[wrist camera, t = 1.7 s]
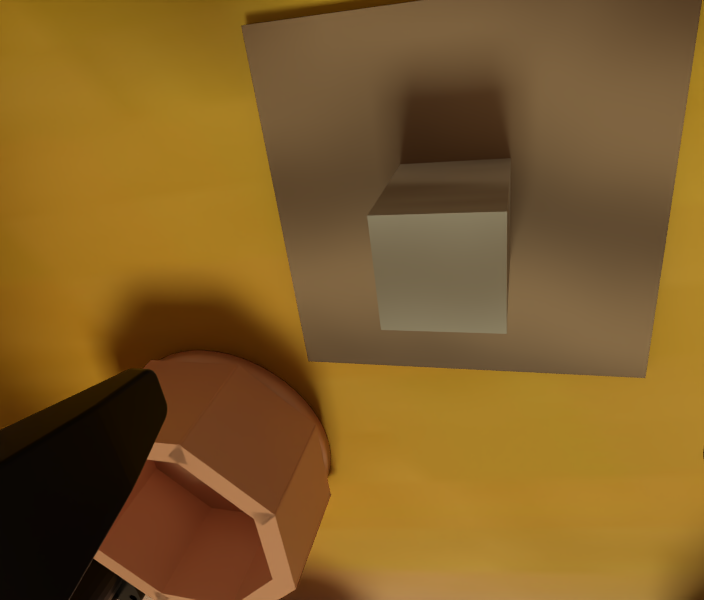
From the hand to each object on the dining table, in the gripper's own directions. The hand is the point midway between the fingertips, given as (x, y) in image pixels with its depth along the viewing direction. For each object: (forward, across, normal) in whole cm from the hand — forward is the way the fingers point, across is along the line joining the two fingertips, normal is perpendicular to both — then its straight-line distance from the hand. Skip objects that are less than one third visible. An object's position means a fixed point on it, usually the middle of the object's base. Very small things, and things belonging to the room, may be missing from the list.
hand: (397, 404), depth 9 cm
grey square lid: (+9, 0, 0) cm, 9 cm away
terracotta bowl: (+9, +10, +10) cm, 17 cm away
